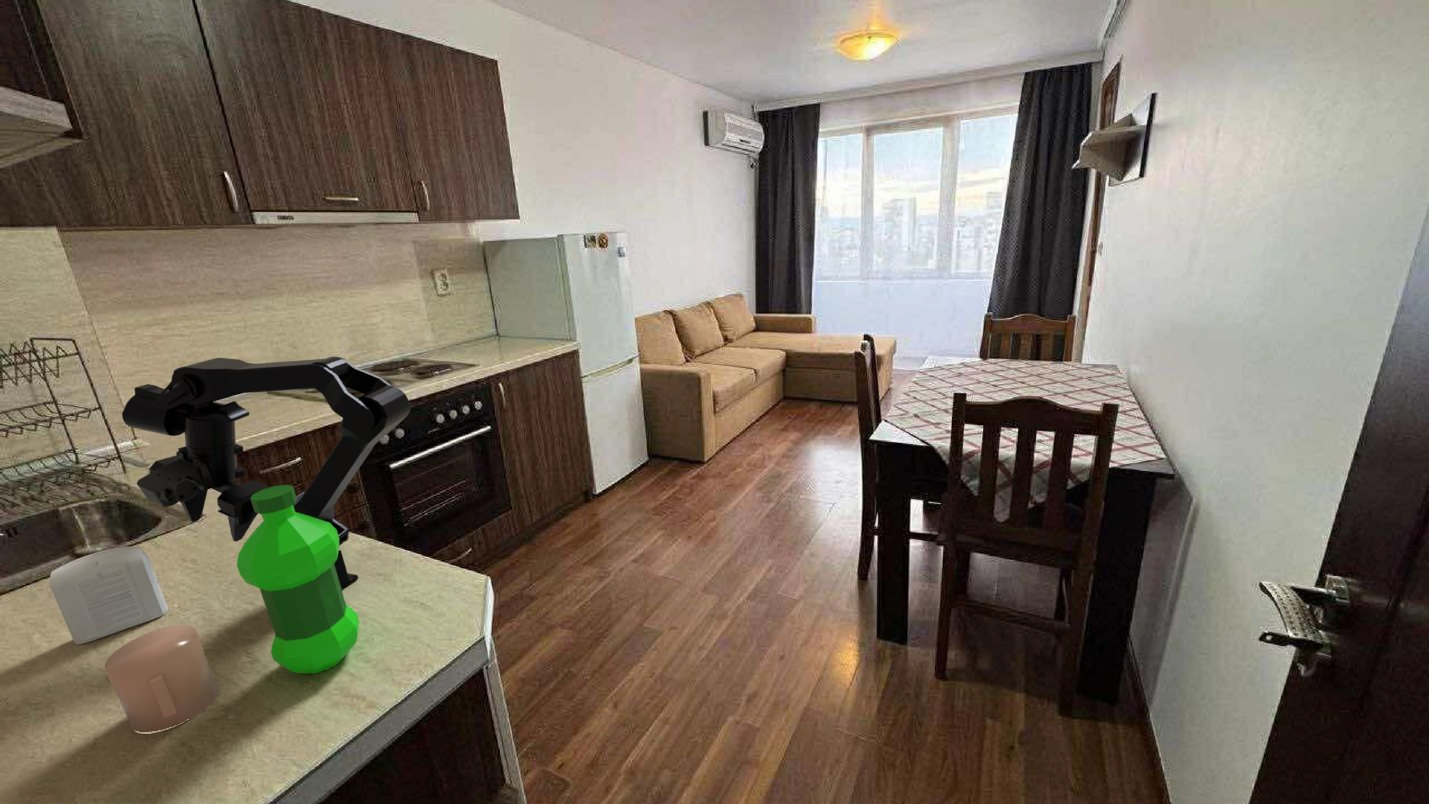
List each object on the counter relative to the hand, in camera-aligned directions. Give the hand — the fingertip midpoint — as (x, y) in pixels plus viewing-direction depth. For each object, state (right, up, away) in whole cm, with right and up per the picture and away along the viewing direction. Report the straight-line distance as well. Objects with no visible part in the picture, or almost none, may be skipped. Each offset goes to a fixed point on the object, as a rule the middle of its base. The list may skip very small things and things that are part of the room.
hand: (216, 530), depth 91 cm
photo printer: (-10, -14, -4) cm, 18 cm away
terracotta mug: (+13, -17, -20) cm, 30 cm away
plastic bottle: (+27, -15, -14) cm, 33 cm away
